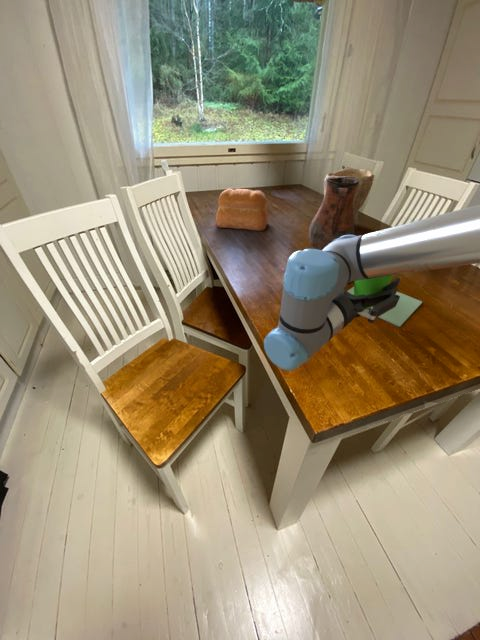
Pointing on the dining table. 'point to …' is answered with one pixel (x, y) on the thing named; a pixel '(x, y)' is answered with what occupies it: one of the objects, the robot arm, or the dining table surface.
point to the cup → (371, 286)
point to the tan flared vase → (363, 186)
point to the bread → (242, 210)
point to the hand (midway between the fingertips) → (378, 276)
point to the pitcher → (334, 213)
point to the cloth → (399, 309)
